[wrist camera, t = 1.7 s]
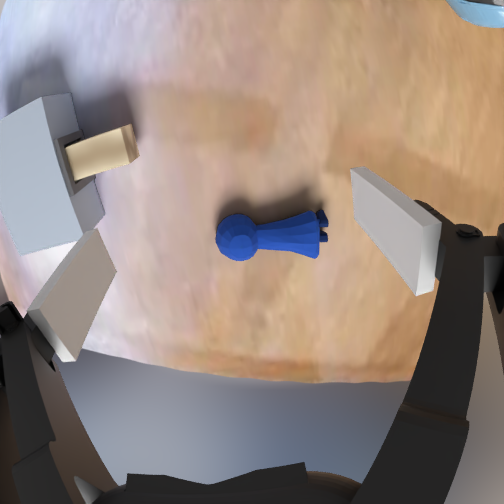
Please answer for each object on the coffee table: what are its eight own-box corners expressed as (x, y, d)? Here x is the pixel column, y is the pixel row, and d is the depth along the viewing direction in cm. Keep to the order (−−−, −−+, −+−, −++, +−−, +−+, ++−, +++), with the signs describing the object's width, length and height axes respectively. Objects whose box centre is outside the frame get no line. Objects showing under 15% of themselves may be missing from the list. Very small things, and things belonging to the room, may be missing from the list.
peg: (32, 160, 33) (16, 169, 30) (131, 123, 33) (120, 128, 29) (41, 188, 35) (25, 198, 32) (139, 155, 35) (129, 163, 31)
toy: (320, 199, 42) (211, 211, 41) (336, 216, 37) (211, 231, 36) (320, 242, 46) (218, 255, 45) (333, 264, 40) (219, 280, 39)
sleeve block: (8, 124, 31) (-23, 135, 25) (74, 91, 31) (45, 94, 25) (43, 231, 40) (20, 256, 34) (108, 213, 40) (88, 237, 34)
